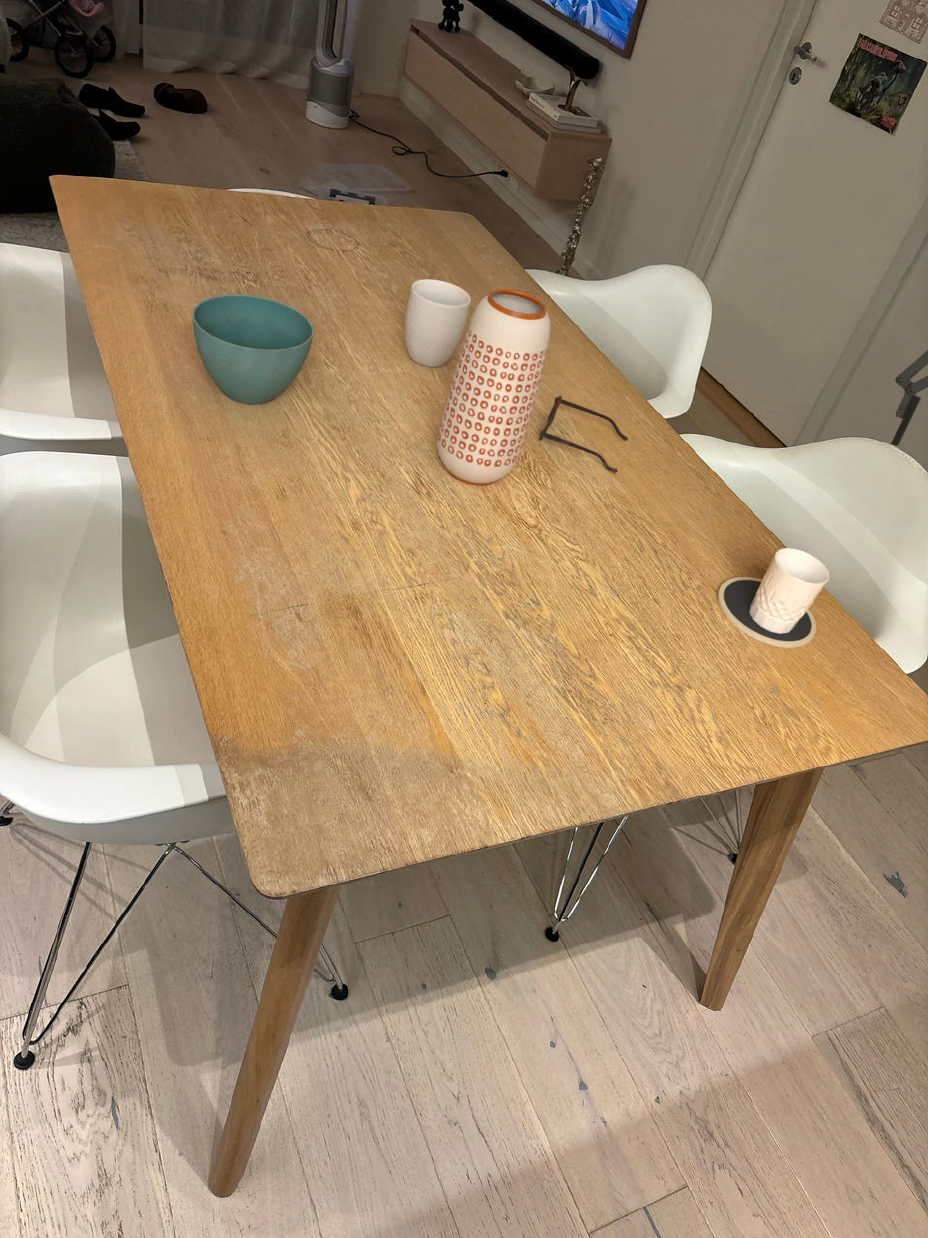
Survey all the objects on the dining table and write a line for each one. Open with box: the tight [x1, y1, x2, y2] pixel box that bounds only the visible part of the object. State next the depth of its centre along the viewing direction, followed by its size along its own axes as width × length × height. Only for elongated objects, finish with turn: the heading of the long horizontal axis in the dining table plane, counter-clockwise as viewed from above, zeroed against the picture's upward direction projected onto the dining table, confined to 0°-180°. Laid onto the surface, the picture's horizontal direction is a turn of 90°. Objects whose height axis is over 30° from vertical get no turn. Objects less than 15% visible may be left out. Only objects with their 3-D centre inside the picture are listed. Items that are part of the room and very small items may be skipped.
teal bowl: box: [192, 294, 315, 405], centre depth 145 cm, size 18×18×12 cm
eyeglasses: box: [538, 395, 629, 473], centre depth 160 cm, size 15×15×5 cm
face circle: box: [717, 576, 817, 649], centre depth 135 cm, size 15×15×1 cm
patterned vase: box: [436, 288, 552, 486], centre depth 138 cm, size 13×13×28 cm
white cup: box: [749, 547, 830, 634], centre depth 130 cm, size 8×8×10 cm
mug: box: [404, 278, 472, 368], centre depth 170 cm, size 15×11×13 cm
